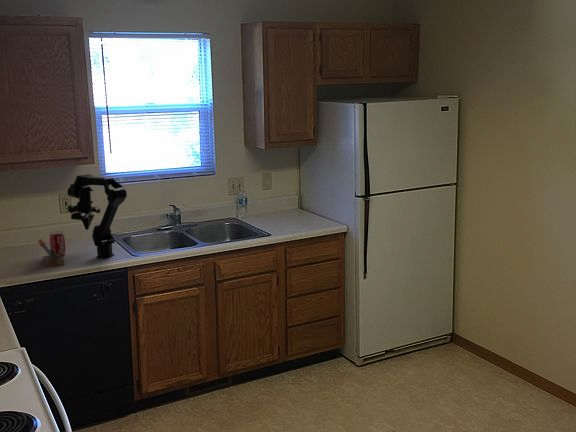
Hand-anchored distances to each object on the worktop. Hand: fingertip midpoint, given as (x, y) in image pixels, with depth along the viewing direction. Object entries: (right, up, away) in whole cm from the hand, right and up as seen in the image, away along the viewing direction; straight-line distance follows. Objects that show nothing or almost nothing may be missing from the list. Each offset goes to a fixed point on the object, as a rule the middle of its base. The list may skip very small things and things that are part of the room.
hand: (87, 229), depth 326 cm
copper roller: (-11, -13, -17) cm, 24 cm away
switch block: (-11, -16, -16) cm, 25 cm away
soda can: (-13, -13, -3) cm, 19 cm away
